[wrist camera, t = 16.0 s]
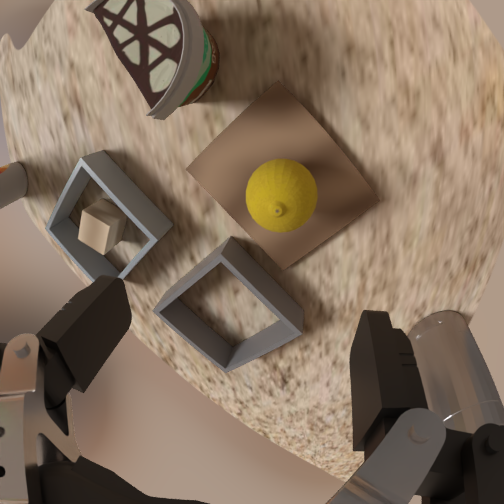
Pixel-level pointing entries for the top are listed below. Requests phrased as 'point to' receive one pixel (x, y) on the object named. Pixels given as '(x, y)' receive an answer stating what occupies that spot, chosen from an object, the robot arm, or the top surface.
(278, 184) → the lemon
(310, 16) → the top surface
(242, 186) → the walnut board
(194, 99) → the food container
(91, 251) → the slate-blue bin
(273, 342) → the charcoal bin
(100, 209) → the birch block
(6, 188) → the lotion bottle
